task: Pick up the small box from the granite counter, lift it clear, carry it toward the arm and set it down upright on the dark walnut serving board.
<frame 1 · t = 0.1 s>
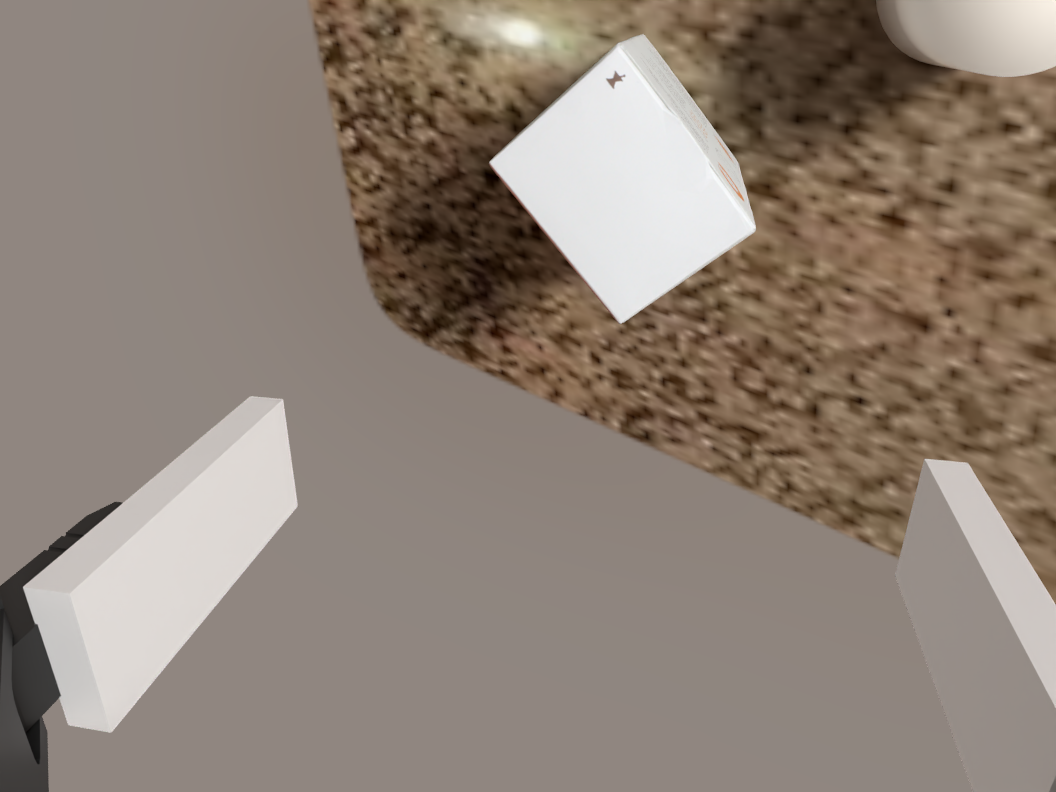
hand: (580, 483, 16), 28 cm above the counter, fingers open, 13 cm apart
small box: (641, 142, 40), on the counter
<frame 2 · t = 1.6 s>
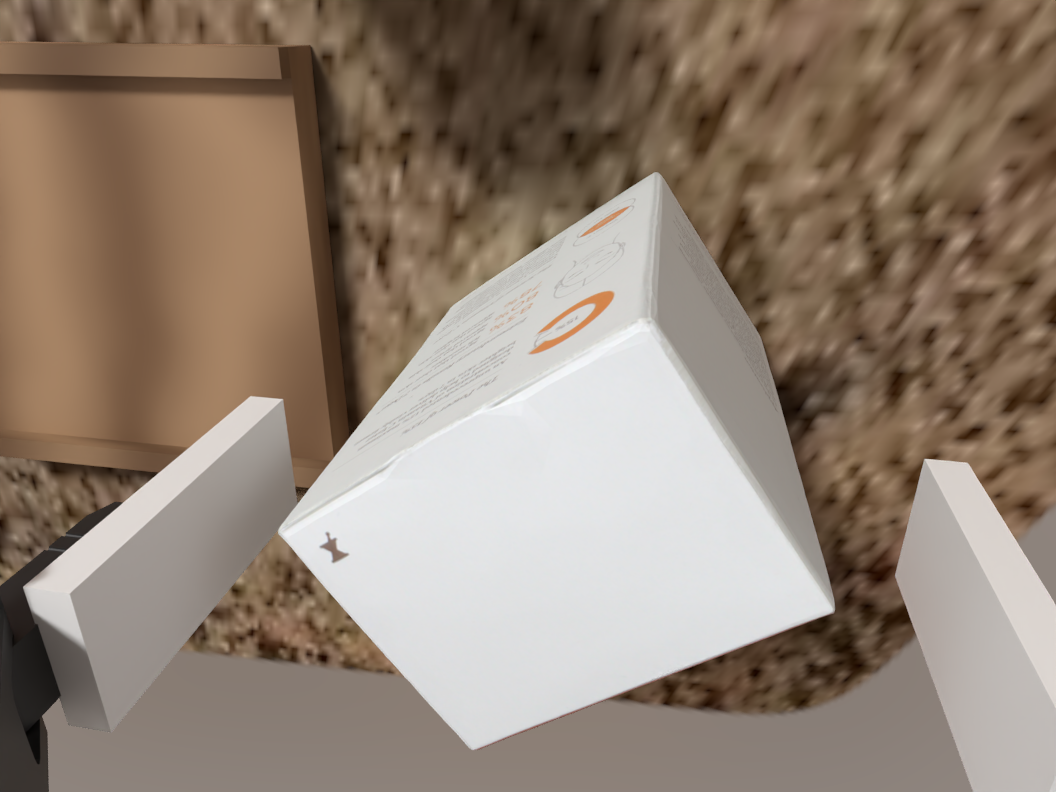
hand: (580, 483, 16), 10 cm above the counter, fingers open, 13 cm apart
walnut board: (141, 264, 27), on the counter
small box: (604, 319, 26), on the counter
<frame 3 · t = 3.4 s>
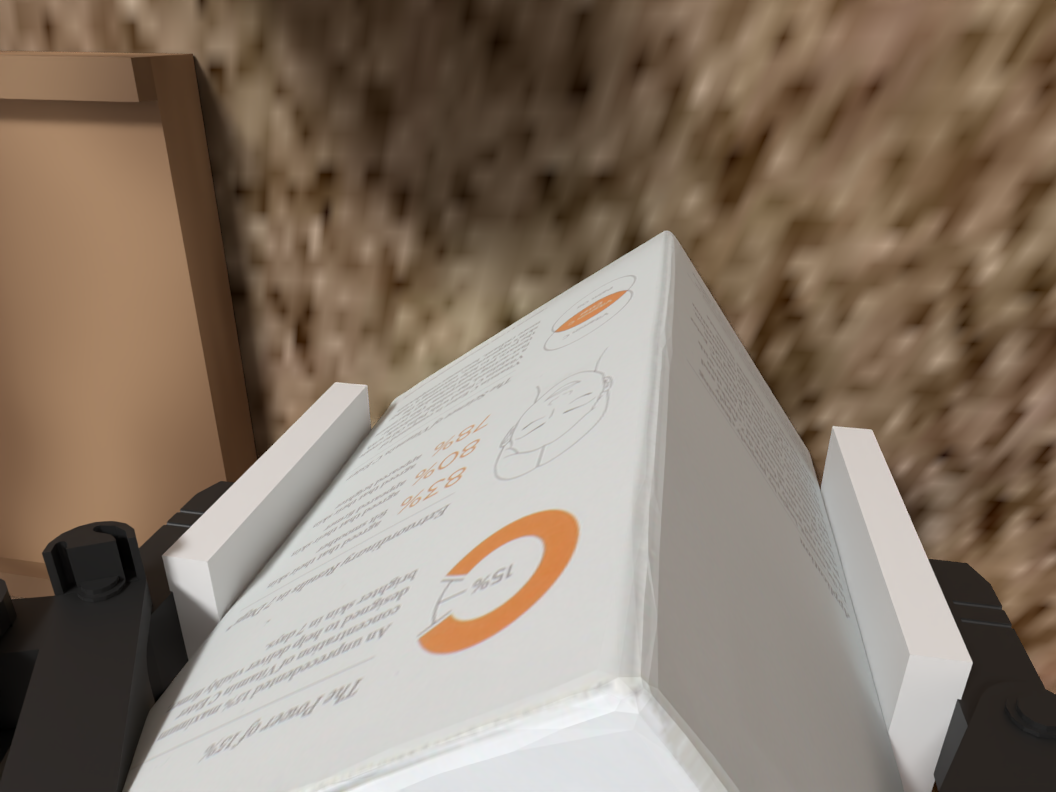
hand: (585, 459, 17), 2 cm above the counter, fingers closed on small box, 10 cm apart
small box: (596, 420, 19), on the counter, touching gripper
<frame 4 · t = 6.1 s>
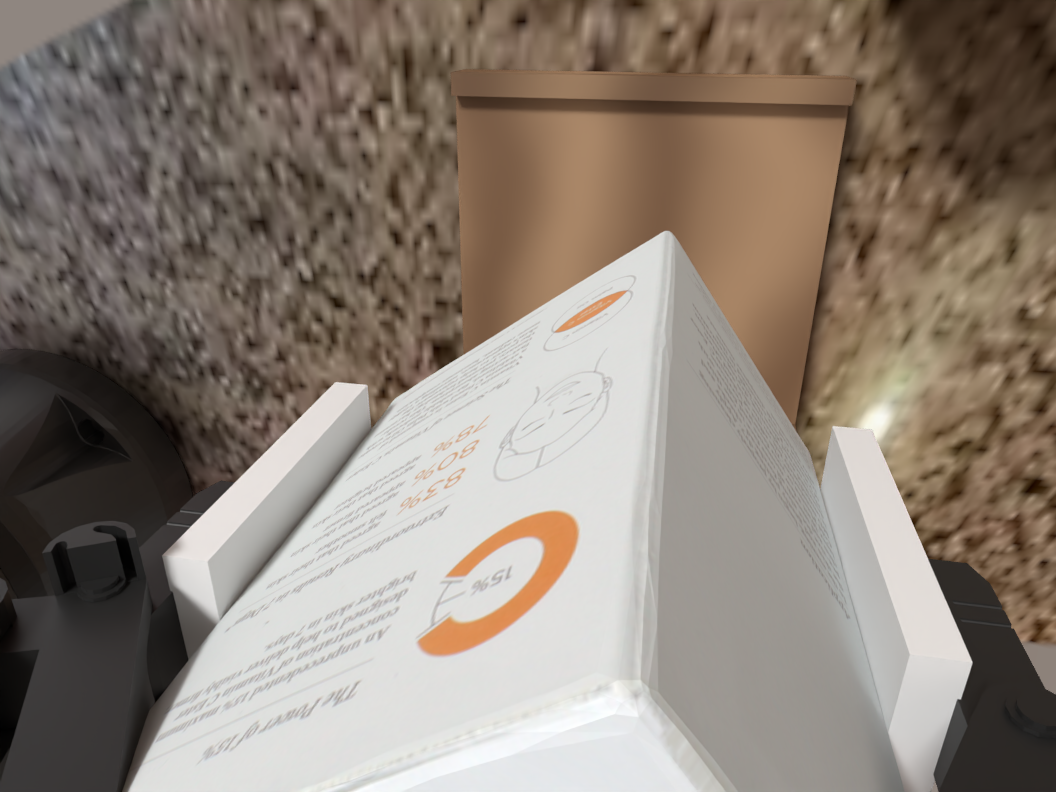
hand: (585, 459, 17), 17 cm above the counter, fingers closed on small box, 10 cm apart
walnut board: (636, 257, 32), on the counter
small box: (596, 420, 19), point 15 cm above the counter, touching gripper
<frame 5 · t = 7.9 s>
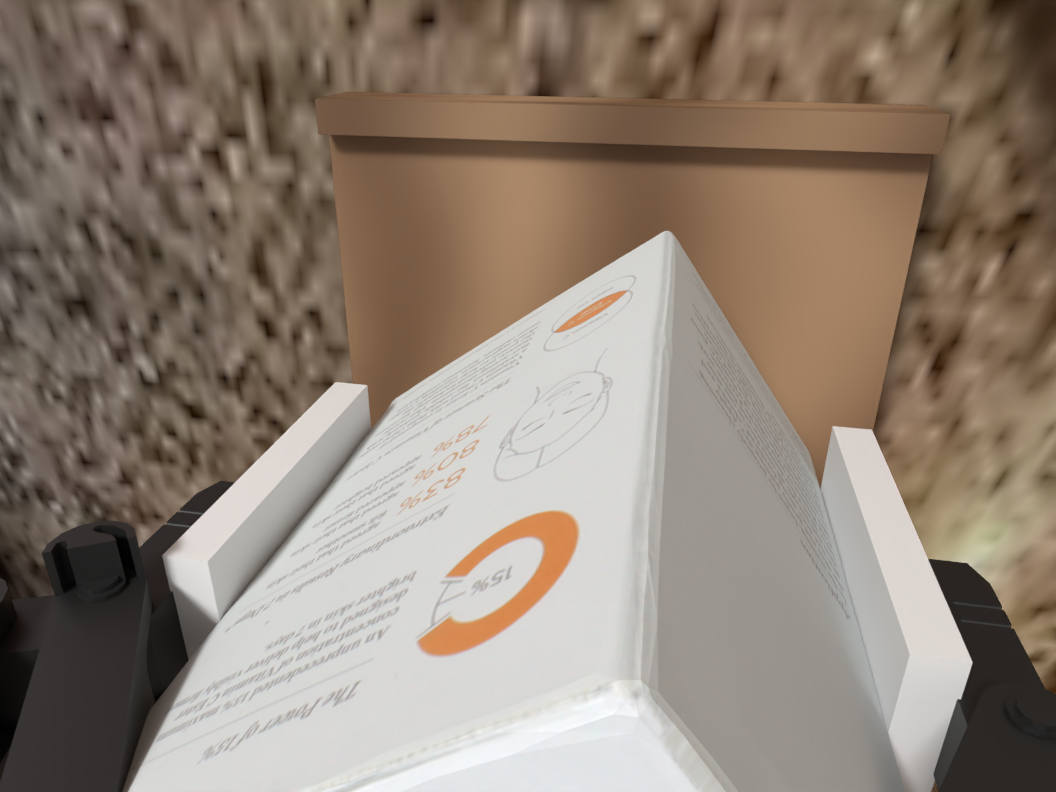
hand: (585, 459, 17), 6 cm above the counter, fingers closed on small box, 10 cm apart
walnut board: (605, 361, 22), on the counter
small box: (596, 420, 19), point 4 cm above the counter, touching gripper
when the fingers open (4 cm above the counter, at t = 9.2 s): small box stays where it is, resting on walnut board.
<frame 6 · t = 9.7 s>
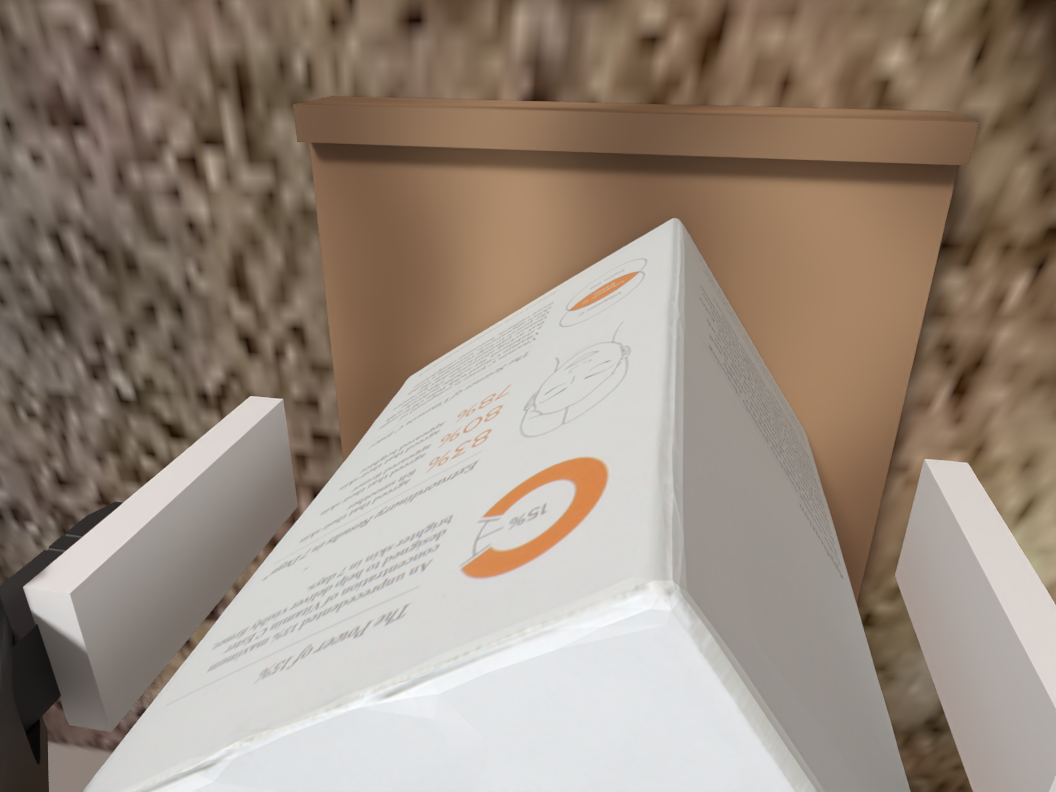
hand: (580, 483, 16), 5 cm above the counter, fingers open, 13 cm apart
walnut board: (605, 382, 21), on the counter
small box: (603, 400, 20), point 1 cm above the counter, touching walnut board
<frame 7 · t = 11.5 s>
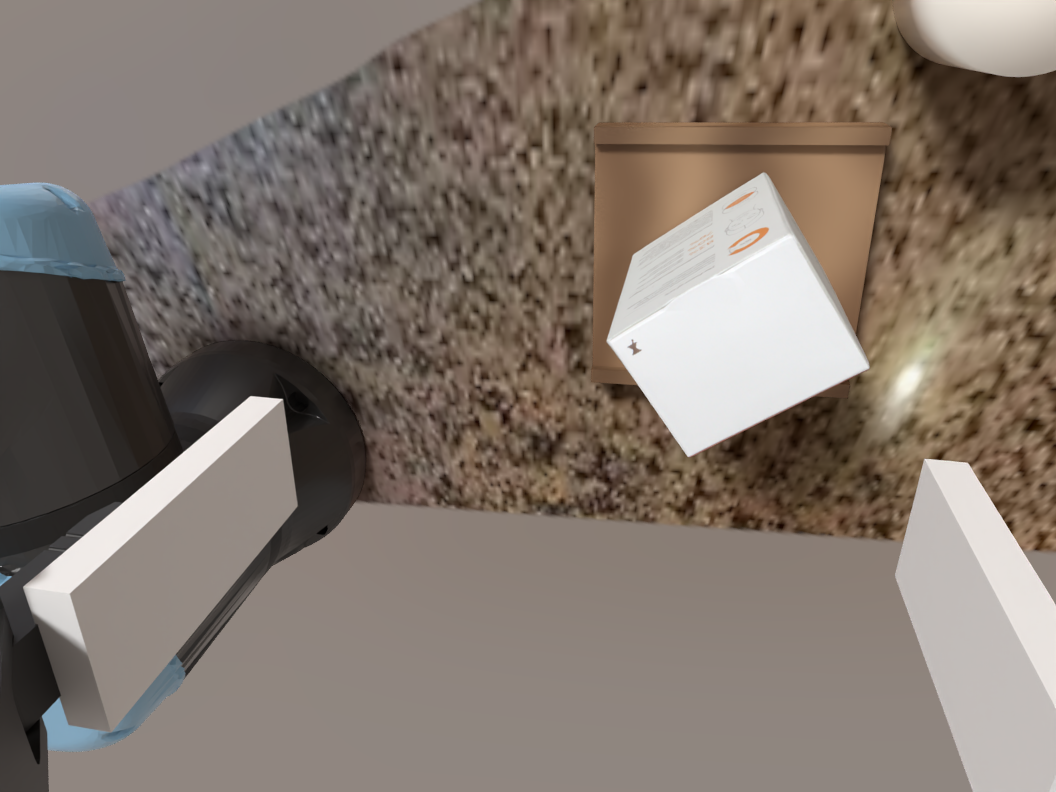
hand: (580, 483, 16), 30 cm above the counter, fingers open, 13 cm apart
walnut board: (725, 257, 43), on the counter
small box: (727, 262, 42), point 1 cm above the counter, touching walnut board
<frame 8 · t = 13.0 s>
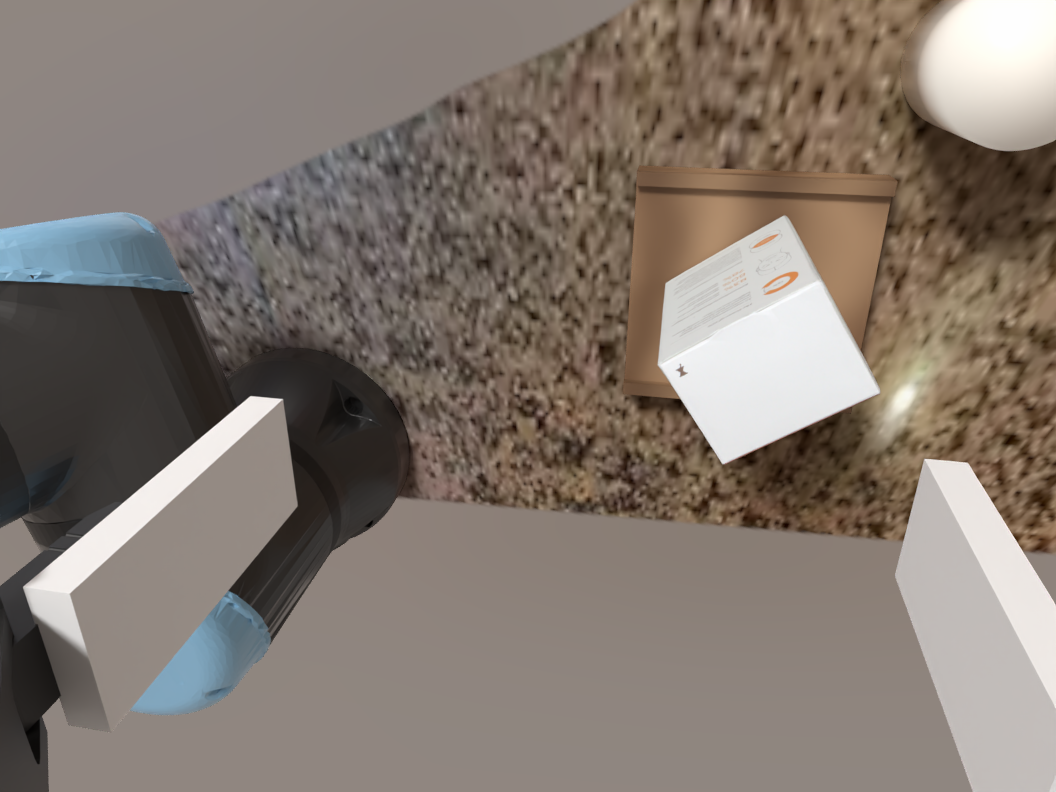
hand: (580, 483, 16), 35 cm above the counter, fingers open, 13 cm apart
white cylinder: (972, 60, 42), on the counter
walnut board: (746, 286, 49), on the counter
small box: (748, 291, 48), point 1 cm above the counter, touching walnut board
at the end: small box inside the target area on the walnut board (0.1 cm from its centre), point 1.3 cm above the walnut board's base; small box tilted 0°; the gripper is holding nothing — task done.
